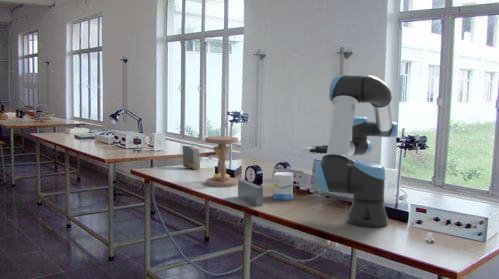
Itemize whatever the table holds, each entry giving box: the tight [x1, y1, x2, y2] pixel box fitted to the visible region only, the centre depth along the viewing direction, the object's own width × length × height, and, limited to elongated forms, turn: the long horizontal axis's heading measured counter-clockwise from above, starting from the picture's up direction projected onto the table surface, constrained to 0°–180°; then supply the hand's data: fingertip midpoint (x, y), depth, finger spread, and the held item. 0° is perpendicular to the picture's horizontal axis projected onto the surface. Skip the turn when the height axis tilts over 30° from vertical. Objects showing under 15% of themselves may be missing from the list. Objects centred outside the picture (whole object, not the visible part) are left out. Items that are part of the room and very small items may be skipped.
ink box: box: [272, 171, 294, 201], centre depth 221 cm, size 8×8×12 cm
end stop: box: [237, 179, 264, 207], centre depth 214 cm, size 20×5×8 cm, turn 25°
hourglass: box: [204, 135, 239, 188], centre depth 251 cm, size 18×18×25 cm
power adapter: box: [425, 232, 435, 243], centre depth 159 cm, size 3×3×3 cm
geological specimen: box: [182, 145, 201, 170], centre depth 298 cm, size 11×6×15 cm, turn 45°
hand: (303, 150), depth 224 cm, fingers closed
